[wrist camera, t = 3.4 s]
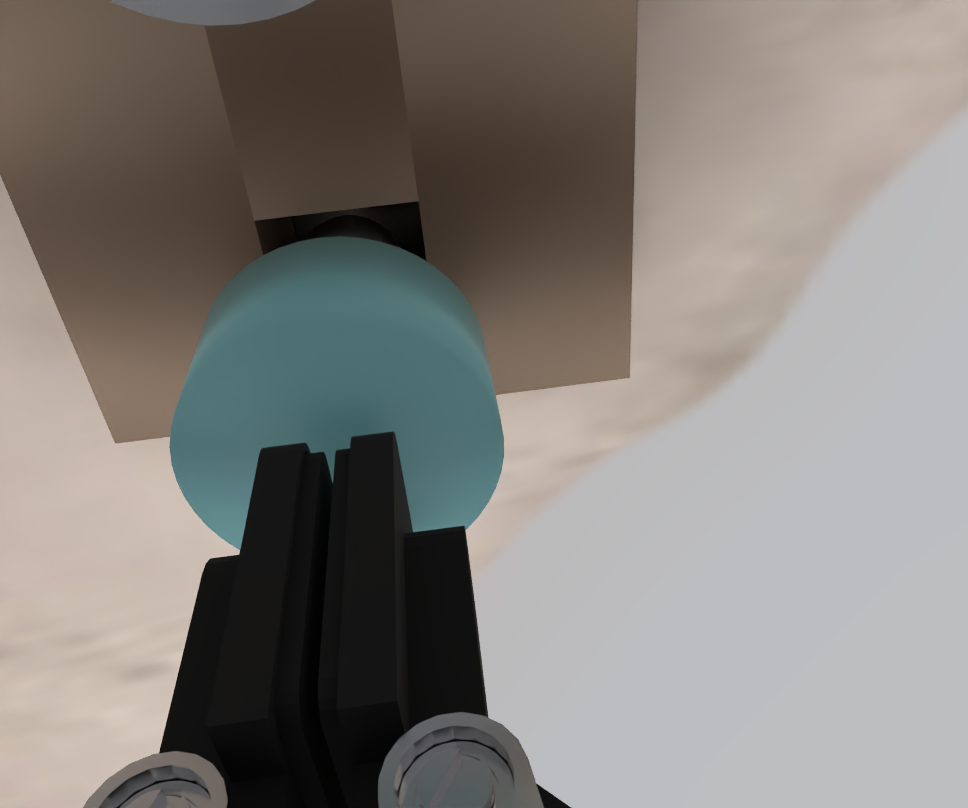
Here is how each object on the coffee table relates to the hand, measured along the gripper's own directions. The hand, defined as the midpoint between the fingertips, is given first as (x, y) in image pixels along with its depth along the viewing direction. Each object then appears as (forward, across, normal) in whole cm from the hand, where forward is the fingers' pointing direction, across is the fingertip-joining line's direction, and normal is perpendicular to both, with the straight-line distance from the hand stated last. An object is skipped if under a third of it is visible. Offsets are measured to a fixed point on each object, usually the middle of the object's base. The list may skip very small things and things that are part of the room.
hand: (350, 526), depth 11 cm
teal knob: (+8, 0, 0) cm, 8 cm away
